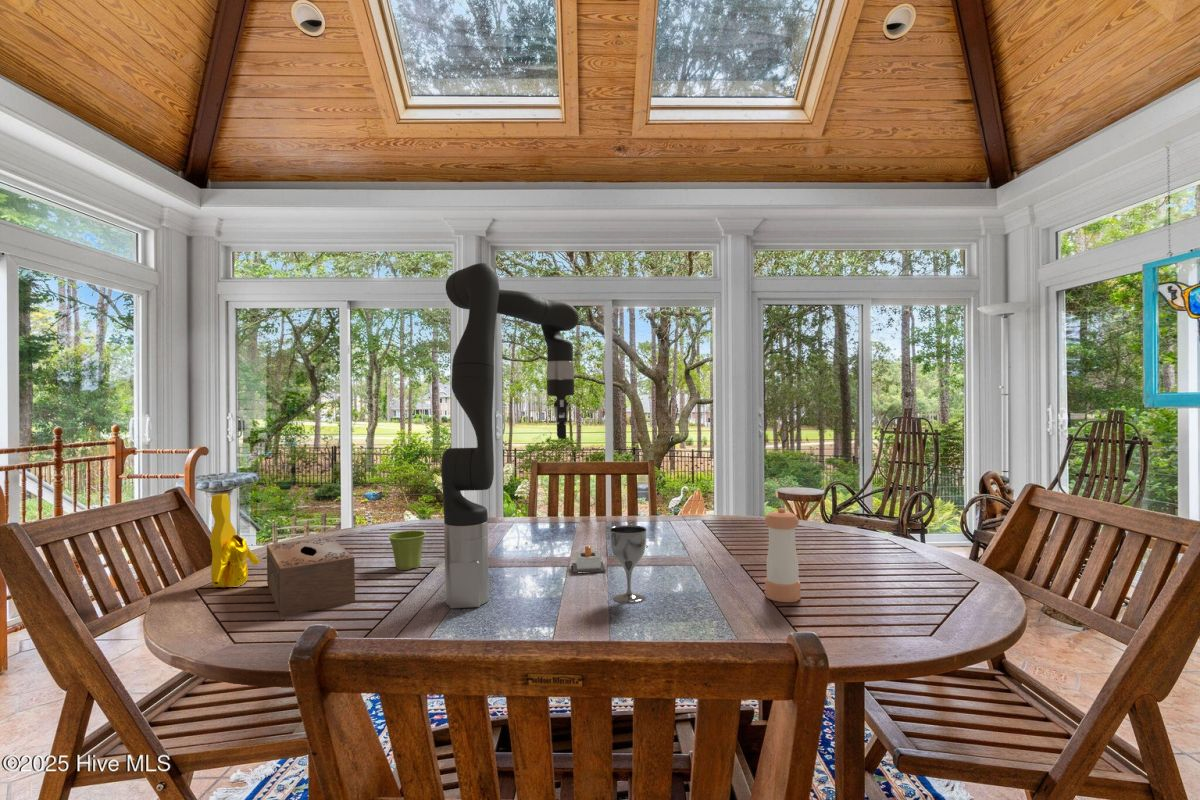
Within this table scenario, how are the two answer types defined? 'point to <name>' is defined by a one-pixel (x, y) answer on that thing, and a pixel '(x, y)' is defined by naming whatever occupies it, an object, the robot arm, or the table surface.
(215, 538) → the figure statuette
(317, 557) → the tissue box cover
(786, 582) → the pepper shaker
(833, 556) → the table surface
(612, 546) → the wine glass
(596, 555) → the grey square block
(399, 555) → the plant pot
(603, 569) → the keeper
